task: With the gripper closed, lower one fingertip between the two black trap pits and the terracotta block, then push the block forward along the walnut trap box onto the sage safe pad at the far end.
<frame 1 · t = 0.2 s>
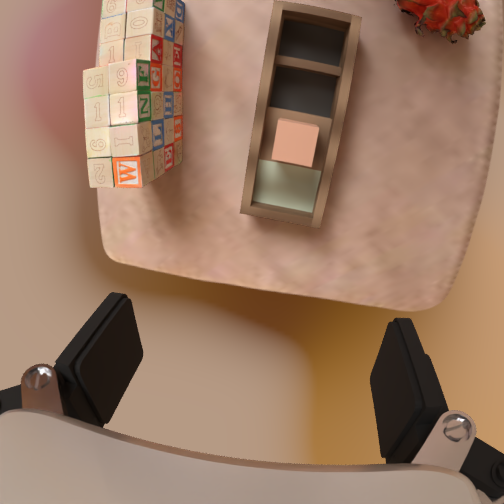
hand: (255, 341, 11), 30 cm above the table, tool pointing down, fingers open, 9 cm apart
stack of blocks: (160, 82, 35), on the table
dragon fruit: (427, 13, 26), on the table
trap box: (299, 111, 35), on the table
terracotta block: (295, 138, 34), point 3 cm above the table, touching trap box
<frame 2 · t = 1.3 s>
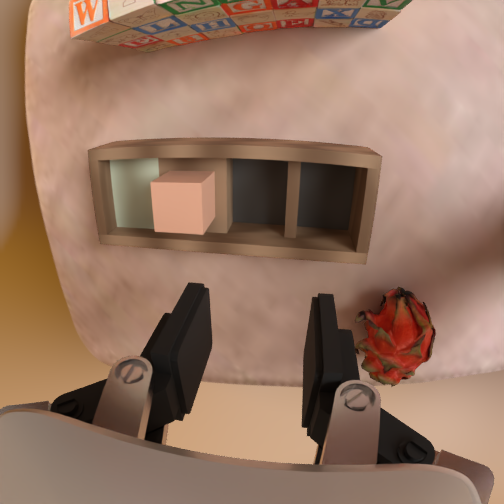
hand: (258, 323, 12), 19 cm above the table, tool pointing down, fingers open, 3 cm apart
stack of blocks: (256, 2, 22), on the table
dragon fruit: (388, 315, 34), on the table
trap box: (233, 185, 30), on the table
terracotta block: (192, 193, 27), point 3 cm above the table, touching trap box
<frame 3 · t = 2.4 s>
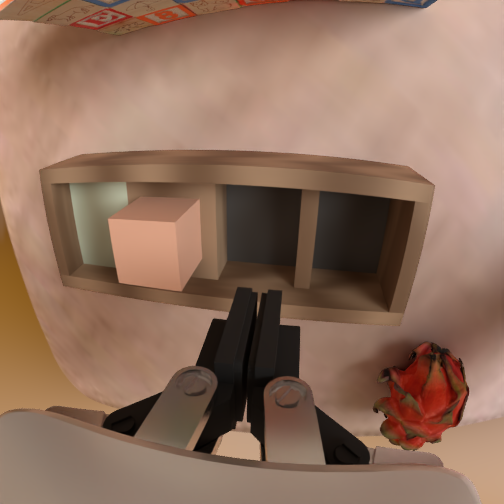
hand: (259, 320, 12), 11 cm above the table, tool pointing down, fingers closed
dragon fruit: (414, 367, 26), on the table
trap box: (227, 214, 23), on the table
terracotta block: (171, 227, 20), point 3 cm above the table, touching trap box
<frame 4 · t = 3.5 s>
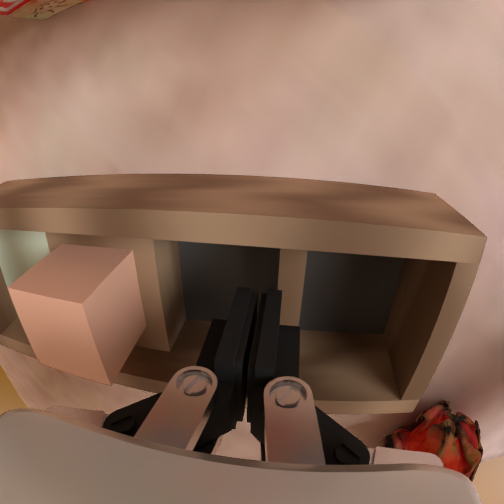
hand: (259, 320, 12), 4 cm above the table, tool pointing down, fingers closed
dragon fruit: (420, 423, 21), on the table
trap box: (181, 261, 16), on the table
terracotta block: (102, 285, 14), point 3 cm above the table, touching trap box
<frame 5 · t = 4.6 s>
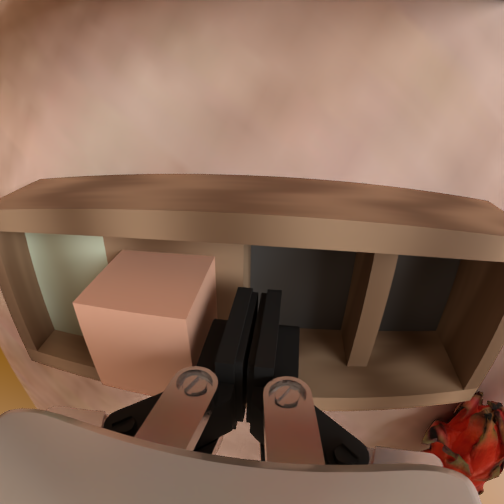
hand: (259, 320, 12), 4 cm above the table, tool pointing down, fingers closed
dragon fruit: (454, 414, 21), on the table
trap box: (250, 266, 16), on the table
terracotta block: (171, 294, 14), point 3 cm above the table, touching gripper, trap box
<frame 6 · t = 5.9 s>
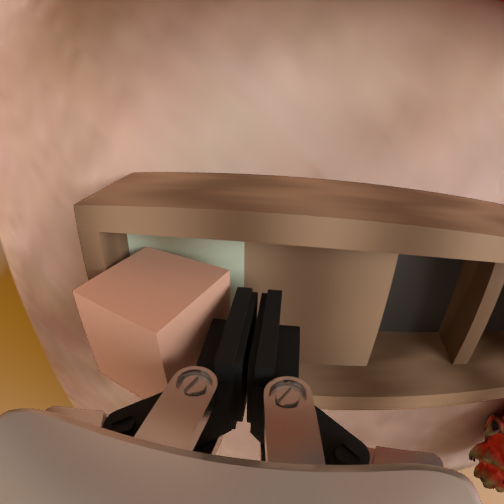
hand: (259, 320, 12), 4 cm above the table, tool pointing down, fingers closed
trap box: (372, 273, 15), on the table
terracotta block: (188, 300, 13), point 4 cm above the table, tilted 19°, touching gripper, trap box
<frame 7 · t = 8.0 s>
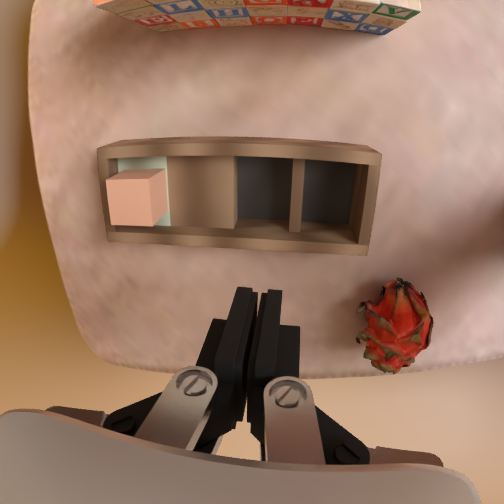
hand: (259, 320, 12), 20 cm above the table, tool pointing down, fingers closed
dragon fruit: (387, 306, 36), on the table
trap box: (238, 183, 31), on the table
terracotta block: (146, 189, 29), point 3 cm above the table, touching trap box
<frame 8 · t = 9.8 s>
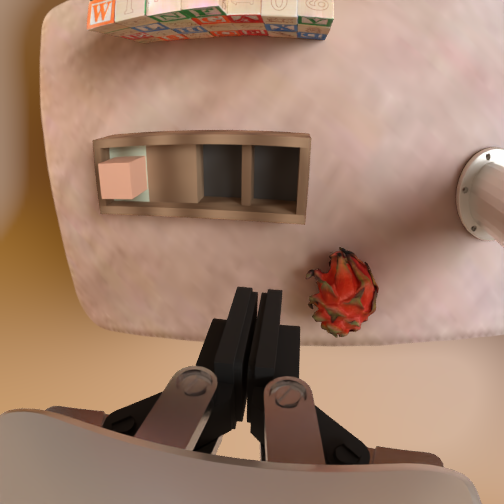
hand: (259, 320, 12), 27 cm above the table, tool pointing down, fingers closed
stack of blocks: (230, 13, 29), on the table
dragon fruit: (339, 277, 42), on the table
trap box: (203, 167, 37), on the table
terracotta block: (131, 172, 35), point 3 cm above the table, touching trap box
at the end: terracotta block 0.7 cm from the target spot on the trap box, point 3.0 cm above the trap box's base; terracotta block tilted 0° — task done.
